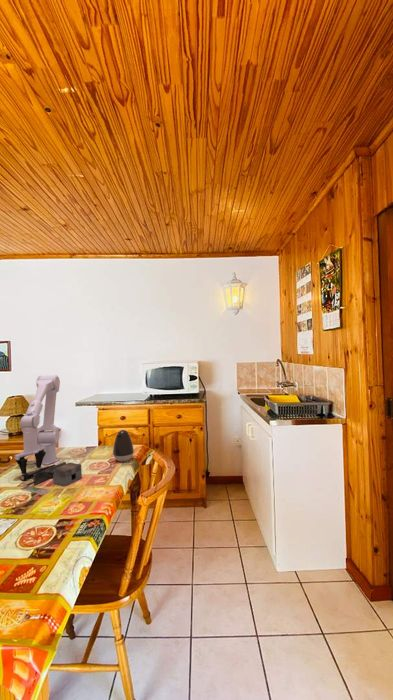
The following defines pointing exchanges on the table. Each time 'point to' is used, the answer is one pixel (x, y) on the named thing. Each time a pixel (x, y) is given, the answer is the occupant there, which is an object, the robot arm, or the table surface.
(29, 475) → the electric trimmer
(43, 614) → the table surface
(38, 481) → the gauge plunger
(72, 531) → the table surface
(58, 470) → the gauge frame
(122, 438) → the black egg-shaped speaker
